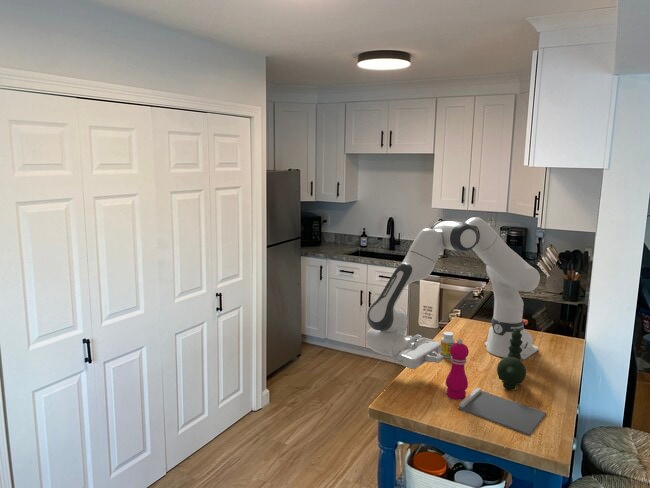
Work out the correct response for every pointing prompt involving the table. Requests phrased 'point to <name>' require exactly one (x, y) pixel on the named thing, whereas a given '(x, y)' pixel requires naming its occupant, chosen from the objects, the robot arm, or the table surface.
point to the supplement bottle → (446, 344)
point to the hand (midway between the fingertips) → (441, 359)
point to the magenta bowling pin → (457, 372)
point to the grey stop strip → (470, 397)
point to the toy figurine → (512, 364)
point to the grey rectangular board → (504, 412)
